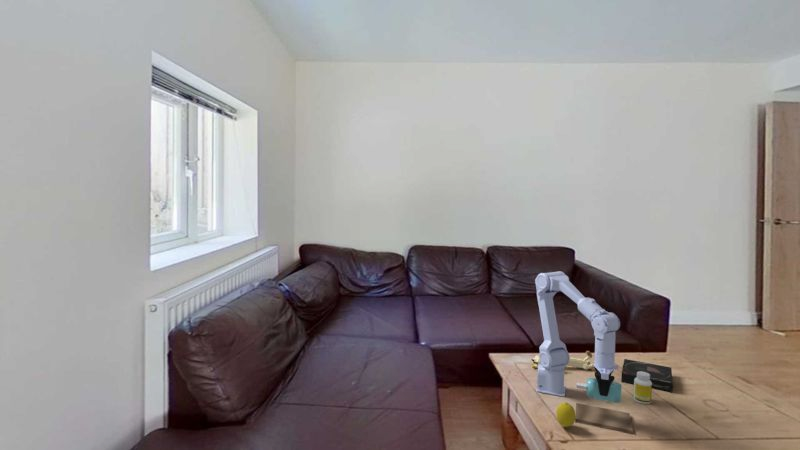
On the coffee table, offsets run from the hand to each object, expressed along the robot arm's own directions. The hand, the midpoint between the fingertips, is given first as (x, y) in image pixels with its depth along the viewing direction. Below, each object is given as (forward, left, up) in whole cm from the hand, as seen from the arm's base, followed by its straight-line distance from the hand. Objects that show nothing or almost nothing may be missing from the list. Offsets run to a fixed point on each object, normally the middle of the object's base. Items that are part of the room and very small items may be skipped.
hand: (603, 392), depth 131 cm
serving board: (0, 0, -9) cm, 9 cm away
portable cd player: (+17, +39, -10) cm, 44 cm away
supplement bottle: (+13, +19, -9) cm, 25 cm away
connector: (-1, 0, -2) cm, 2 cm away
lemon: (-11, -10, -9) cm, 17 cm away
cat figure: (-15, +36, -9) cm, 40 cm away
